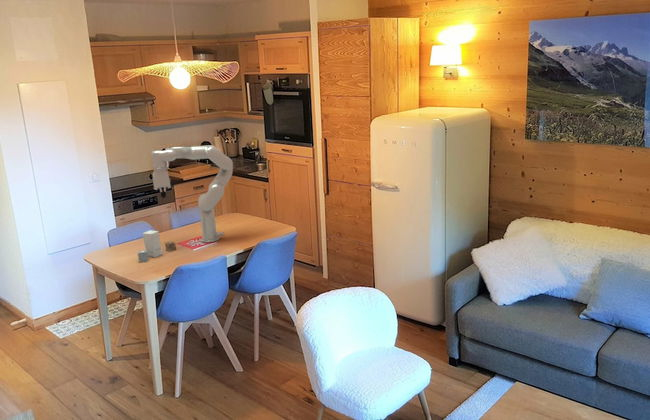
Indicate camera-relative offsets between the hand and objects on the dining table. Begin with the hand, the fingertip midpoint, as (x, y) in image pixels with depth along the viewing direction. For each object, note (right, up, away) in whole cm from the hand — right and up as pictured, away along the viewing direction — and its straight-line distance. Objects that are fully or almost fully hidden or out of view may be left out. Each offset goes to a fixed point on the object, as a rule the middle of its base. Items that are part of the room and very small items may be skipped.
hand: (163, 197), depth 363 cm
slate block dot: (-7, -40, -17) cm, 44 cm away
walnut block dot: (+5, -34, 0) cm, 34 cm away
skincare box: (-4, -37, -8) cm, 38 cm away
